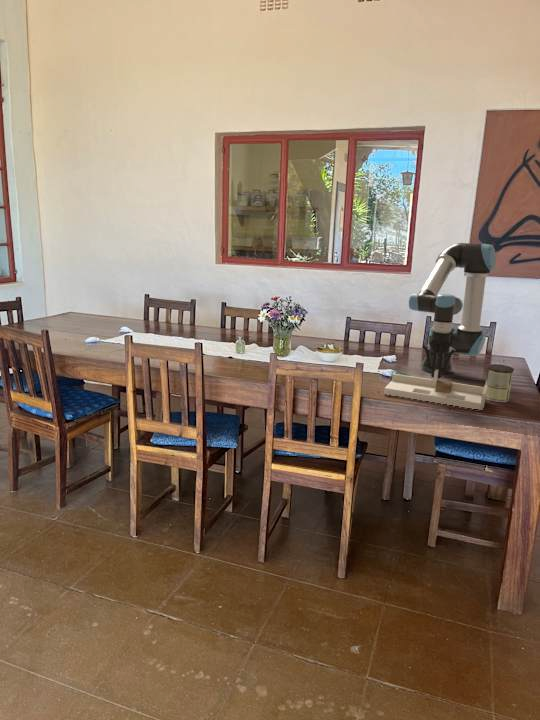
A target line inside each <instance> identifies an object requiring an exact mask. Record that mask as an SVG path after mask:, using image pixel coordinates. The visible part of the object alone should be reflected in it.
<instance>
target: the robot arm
mask: <svg viewBox="0 0 540 720" xmlns="http://www.w3.org/2000/svg"><path fill="white" fill-rule="evenodd" d="M496 256H497V255H496V250H495V247H494V246H493V245H492V244H488V243H472V242H471V243H470V242H469V243H468V242H467V243H466V242H459V243H454V244H451V245H450V246H448V247H446V248H444V250H443V251H442V252H440V253H439V254H438V256H437V258H436V259H435V265H434V267H433V269H432V271H431V272H430V274H429V275H428V277H427V279H426V281H425V282H424V284H423V286H422V288H421V289H420V291H419V293H412V294H411V295H410V296H409V298H408V299H409V300H408V308H409V309H410V310H411V311H417V312H422V313H423V312H424V313H431V314H434V315H433V324H432V327H430V329H429V333H428V340H427V344H426V345H424V346H423V349H424V350H425V358H424V359H423V361H422V364H421V370H422V371H425V372H428V373H431V374H430V375H431V378H433V386H436V382H437V380H439V379H441V377H442V375H446V374H447V375H449V374H451V373H452V372H453V364H452V363H453V362H452V359H451V358H452V355H453V354H459V355H463V356H464V355H465V356H469V357H470V356H471V357H477V356H479V355H480V354H481V352H482V350H483V347H484V345H485V342H486V334H485V333H484V332H483V328H482V327H481V317H482V311H483V302H484V294H485V287H486V286H485V285H486V280H487V277H488V276H489V275H490V274H491V271H493V270H494V269H495V267H496V260H497V259H496ZM456 268H460V269H463V273H464V274H465V275H466V281H465V289H464V297H463V301H462V299H461V298H460V297H457V296H455V295H454V294H450V293H449V294H446V293H445V294H444V293H440V294H439V292H440V291H441V289H442V287H443V285H445V281H446V280H447V278H448V277H449V275H450V273H451V272H452V271H454V270H455V269H456ZM461 311H462V315H461V324H459V325H458V326H457V329H455V327H454V325H453V319H454V315H457V314H459V313H460V312H461Z"/></svg>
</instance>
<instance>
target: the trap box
mask: <svg viewBox="0 0 540 720" xmlns="http://www.w3.org/2000/svg"><path fill="white" fill-rule="evenodd" d="M391 375H392V381H391V382H390V381H389V383H387V385H386V386H385V387H384V391H383V392H384V393H383V395H384V394H386V395H385V396H389V395H391V397H395V396H399V397H398V398H401V397H405V398H404V399H407V398H411V399H410V400H413V399H417V400H416V401H419V400H422V401H421V402H425V401H429V402H428V403H431V402H435V403H434V404H437V403H441V404H440V405H443V404H447V405H446V406H449V405H453V406H452V407H455V406H459V407H458V408H461V407H465V408H464V409H467V408H472V409H471V410H473V409H479V410H483V411H484V409H483V408H485V404H486V400H487V399H486V393H487V386H488V385H486V384H484V386H479V385H471V384H466V383H460V382H453V381H451V382H452V389H451V392H450V394H449V393H443V392H437V391H435V389H436V386H433V380H434V378H433V379H432V378H426V377H421V376H420V377H419V376H412V375H410V376H407V375H402V374H401V375H400V373H393V374H391ZM479 410H478V411H479Z"/></svg>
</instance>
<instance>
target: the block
mask: <svg viewBox="0 0 540 720" xmlns="http://www.w3.org/2000/svg"><path fill="white" fill-rule="evenodd" d="M452 382H453V381H452V380H451V381H450V380H445V379H438V380H437V382H436V389H435V391H437V392H443V393H449V394H450V392H451V389H452Z"/></svg>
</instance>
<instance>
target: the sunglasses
mask: <svg viewBox="0 0 540 720" xmlns="http://www.w3.org/2000/svg"><path fill="white" fill-rule="evenodd" d="M394 372H395V373H399V374H400V375H407V376H411V374H407V373H404V372H401V371H399V370H395V369H394V370H392V371H391V372H390V374H391V375H390V377H389V380H390V381H392V374H394ZM390 381H389V382H390Z"/></svg>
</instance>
